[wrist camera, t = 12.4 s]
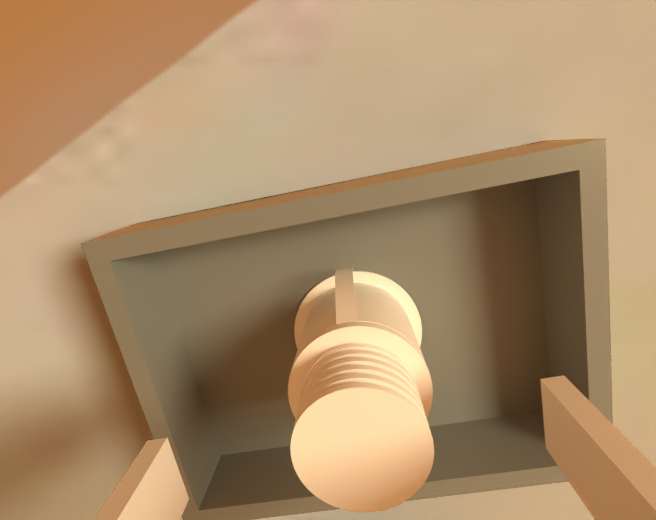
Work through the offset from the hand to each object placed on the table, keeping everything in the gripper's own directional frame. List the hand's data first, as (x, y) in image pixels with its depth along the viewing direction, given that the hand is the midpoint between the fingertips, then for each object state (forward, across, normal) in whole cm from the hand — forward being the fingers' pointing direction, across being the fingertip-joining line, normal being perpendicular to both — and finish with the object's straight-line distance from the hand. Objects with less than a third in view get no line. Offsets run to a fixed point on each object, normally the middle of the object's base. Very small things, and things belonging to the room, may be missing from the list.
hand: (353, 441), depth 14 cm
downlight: (+9, 0, 0) cm, 9 cm away
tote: (+10, +1, 0) cm, 10 cm away
